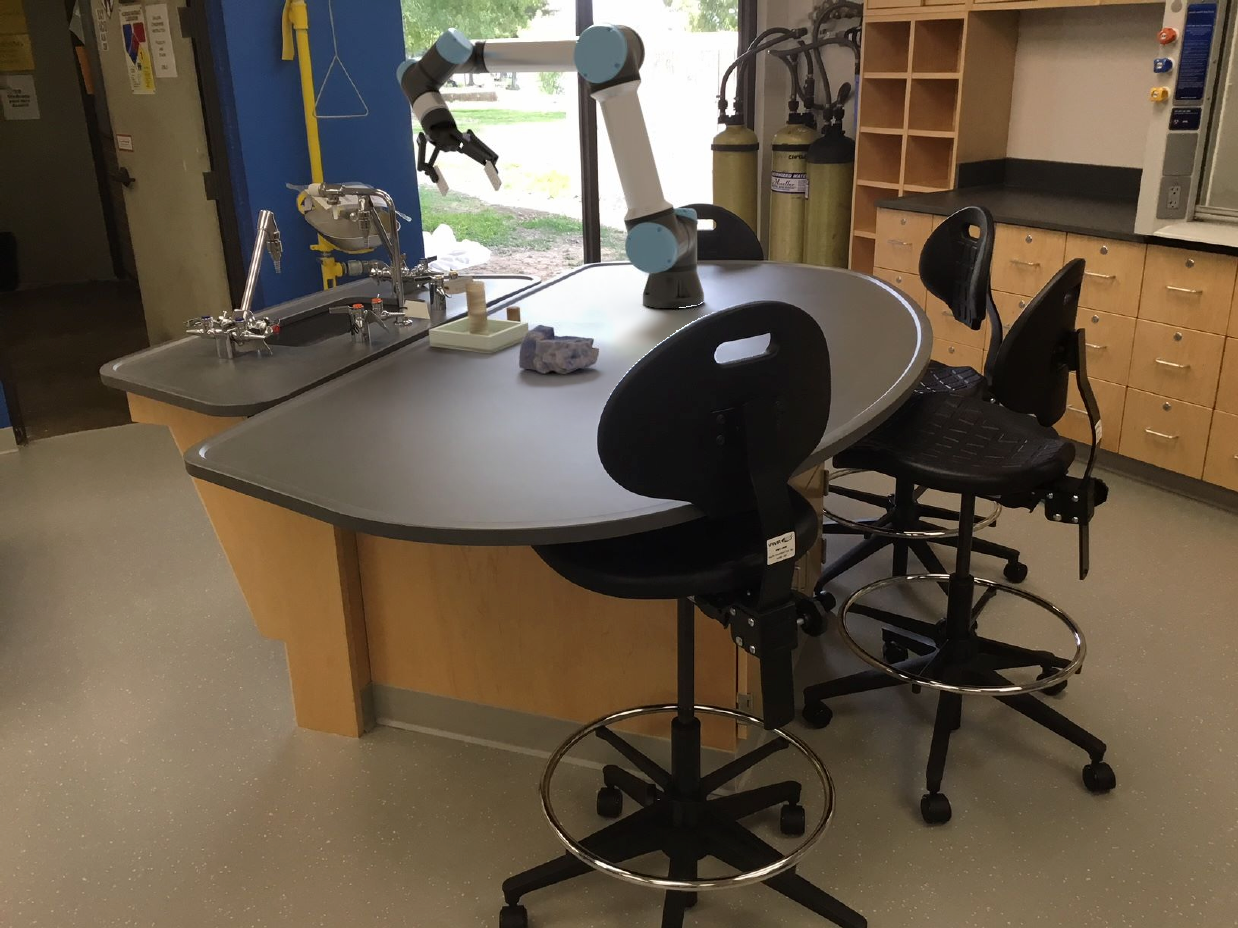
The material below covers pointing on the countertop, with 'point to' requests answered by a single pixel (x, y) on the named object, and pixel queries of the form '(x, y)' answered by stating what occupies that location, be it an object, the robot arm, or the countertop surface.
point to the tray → (461, 339)
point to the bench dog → (513, 313)
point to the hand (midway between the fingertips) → (472, 189)
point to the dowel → (476, 308)
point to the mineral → (555, 351)
